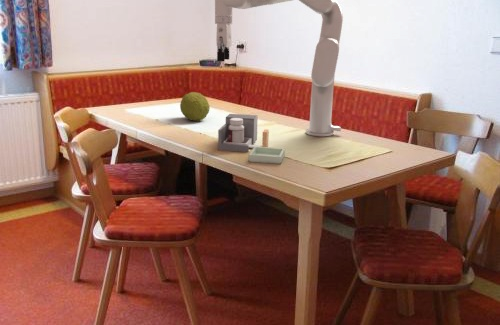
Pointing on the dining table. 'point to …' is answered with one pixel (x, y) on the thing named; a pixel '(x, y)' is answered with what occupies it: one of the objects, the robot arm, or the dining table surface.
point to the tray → (267, 155)
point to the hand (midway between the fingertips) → (223, 60)
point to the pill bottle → (236, 130)
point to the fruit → (194, 106)
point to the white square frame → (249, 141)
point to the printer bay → (249, 132)
